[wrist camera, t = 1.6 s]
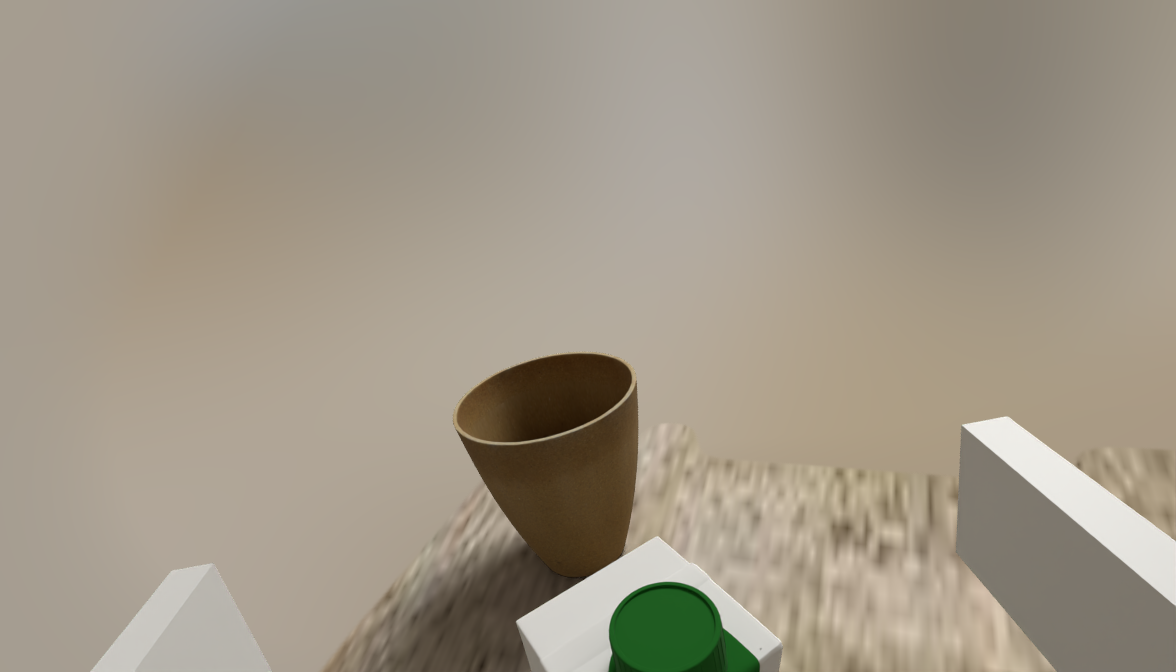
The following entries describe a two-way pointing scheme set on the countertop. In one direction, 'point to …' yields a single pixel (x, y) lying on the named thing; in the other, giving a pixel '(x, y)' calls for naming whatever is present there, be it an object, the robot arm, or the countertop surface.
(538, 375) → the plant pot
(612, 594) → the milk carton
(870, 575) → the countertop surface
